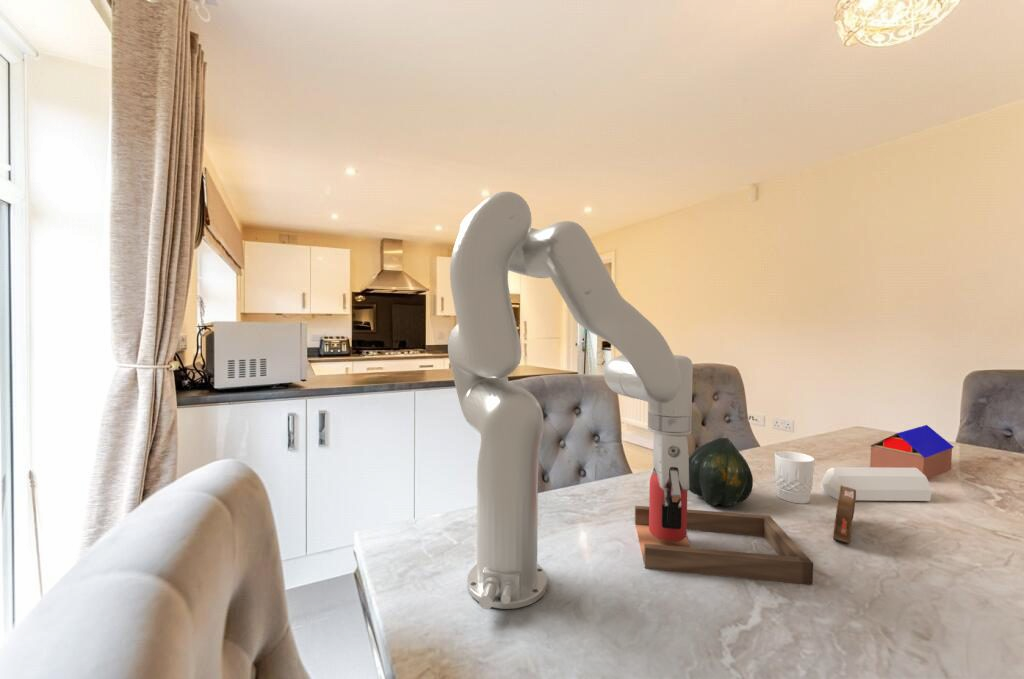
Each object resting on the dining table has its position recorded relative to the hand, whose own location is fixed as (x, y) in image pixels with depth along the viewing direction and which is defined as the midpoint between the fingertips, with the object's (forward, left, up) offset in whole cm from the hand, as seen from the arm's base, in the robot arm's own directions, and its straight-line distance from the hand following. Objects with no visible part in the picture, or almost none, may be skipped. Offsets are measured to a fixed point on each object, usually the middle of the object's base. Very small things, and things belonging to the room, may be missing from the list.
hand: (667, 517), depth 81 cm
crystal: (+33, -53, -6) cm, 62 cm away
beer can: (0, 0, -3) cm, 3 cm away
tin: (+11, -35, -6) cm, 37 cm away
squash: (+24, -15, -5) cm, 29 cm away
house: (+56, -75, -6) cm, 94 cm away
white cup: (+28, -33, -5) cm, 44 cm away
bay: (0, -7, -5) cm, 9 cm away
